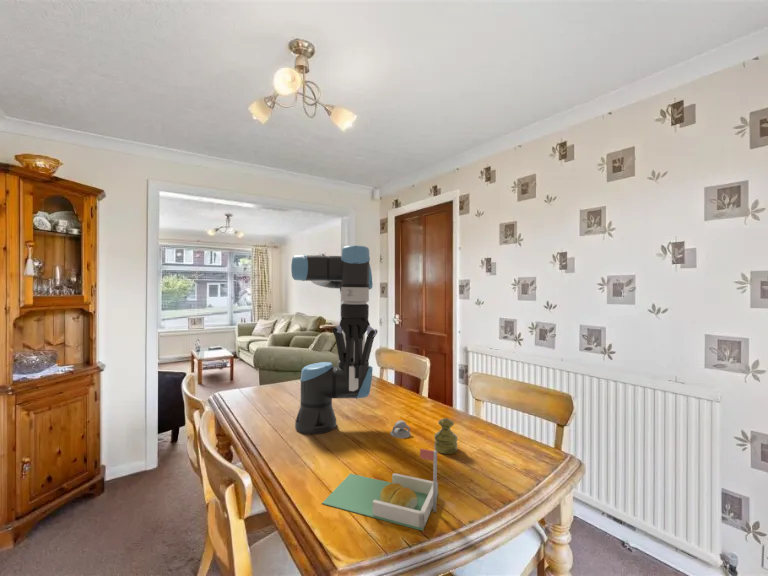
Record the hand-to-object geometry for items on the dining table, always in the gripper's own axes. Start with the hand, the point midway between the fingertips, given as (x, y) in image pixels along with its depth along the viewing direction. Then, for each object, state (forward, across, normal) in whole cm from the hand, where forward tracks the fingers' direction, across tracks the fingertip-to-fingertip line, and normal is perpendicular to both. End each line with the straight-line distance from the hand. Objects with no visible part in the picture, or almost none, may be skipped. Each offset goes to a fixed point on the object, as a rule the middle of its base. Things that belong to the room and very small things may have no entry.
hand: (353, 389), depth 98 cm
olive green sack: (+25, +20, +28) cm, 42 cm away
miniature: (+25, +2, +34) cm, 42 cm away
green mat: (+24, +11, -6) cm, 27 cm away
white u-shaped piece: (+24, +18, -6) cm, 31 cm away
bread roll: (+24, +16, -6) cm, 30 cm away
